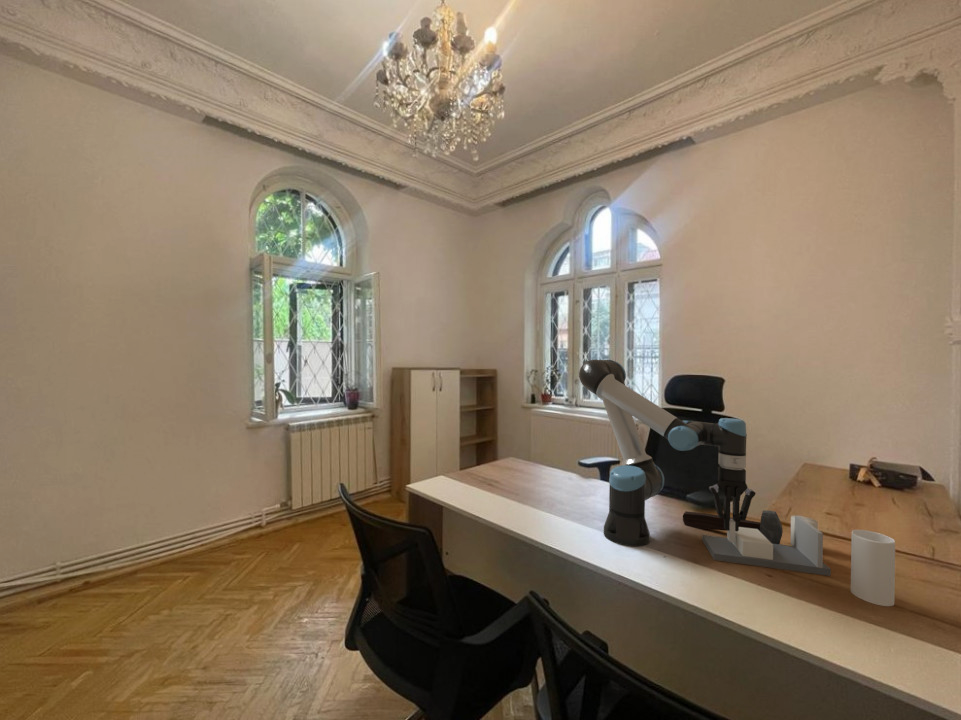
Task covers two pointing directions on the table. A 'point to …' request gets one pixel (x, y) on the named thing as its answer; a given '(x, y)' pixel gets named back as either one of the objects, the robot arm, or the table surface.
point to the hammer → (767, 526)
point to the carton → (753, 543)
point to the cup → (873, 567)
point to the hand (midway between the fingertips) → (731, 540)
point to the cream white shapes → (811, 521)
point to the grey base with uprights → (779, 551)
